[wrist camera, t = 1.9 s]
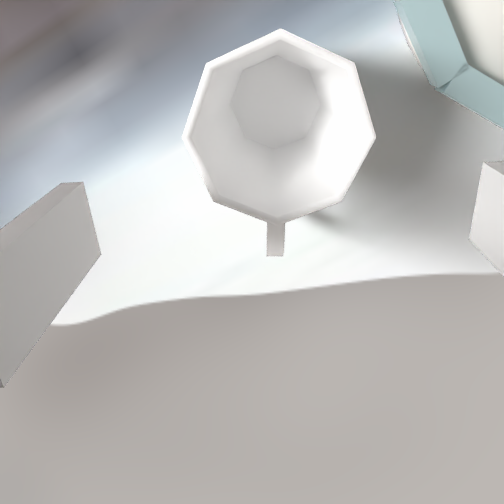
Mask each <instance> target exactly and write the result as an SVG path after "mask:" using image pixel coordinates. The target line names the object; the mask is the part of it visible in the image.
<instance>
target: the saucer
mask: <svg viewBox="0 0 504 504" xmlns="http://www.w3.org/2000/svg"><path fill="white" fill-rule="evenodd" d="M393 3H394V5H395V7H396V9H397V13H398V18H399V22H400V25H401V27H402V30H403V33H404V36H405V38H406V41H407V44H408V46H409V47H410V49H411V51H412V53H413V55H414V57H415V59H416V60H417V62H418V64H419V65H420V67H421V68H422V69H423V71H424V72H425V74H426V77H427V79H428V81H429V83H430V85H432V86H435V87H436V88H435V90H436V91H438V92H440V93H441V94H443V95H445V96H447V97H448V98H450V99H452V100H454V101H455V102H457V103H458V104H460V105H461V106H463V107H465V108H467V109H469V110H471V111H472V112H474V113H476V114H478V115H479V116H481V117H483V118H484V119H486V120H488V121H490V122H491V123H493V124H495V125H496V126H498V127H500V128H502V129H504V0H395V2H393Z"/></svg>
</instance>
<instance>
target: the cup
mask: <svg viewBox="0 0 504 504" xmlns="http://www.w3.org/2000/svg"><path fill="white" fill-rule="evenodd" d="M182 139H183V141H184V143H185V145H186V147H187V149H188V151H189V153H190V155H191V157H192V159H193V161H194V163H195V165H196V167H197V169H198V171H199V173H200V175H201V177H202V179H203V181H204V183H205V185H206V187H207V189H208V191H209V193H210V195H211V197H212V200H213V202H216V203H219V204H221V205H224V206H227V207H229V208H232V209H234V210H237V211H240V212H242V213H245V214H247V215H250V216H253V217H255V218H258V219H260V220H263V221H266V222H267V256H283V253H284V238H285V223H286V222H288V221H291V220H294V219H296V218H299V217H302V216H305V215H307V214H310V213H313V212H315V211H318V210H321V209H324V208H326V207H329V206H332V205H334V204H337V203H340V202H342V200H343V198H344V196H345V194H346V193H347V191H348V189H349V187H350V185H351V183H352V182H353V180H354V178H355V176H356V174H357V172H358V170H359V169H360V167H361V165H362V163H363V161H364V159H365V158H366V156H367V154H368V152H369V150H370V148H371V146H372V145H373V143H374V141H375V139H376V134H375V131H374V127H373V124H372V121H371V117H370V114H369V110H368V107H367V103H366V100H365V96H364V93H363V90H362V86H361V83H360V79H359V76H358V72H357V69H356V65H355V62H352V61H350V60H348V59H346V58H344V57H342V56H339V55H337V54H335V53H333V52H331V51H328V50H326V49H324V48H322V47H320V46H318V45H315V44H313V43H311V42H309V41H307V40H305V39H302V38H300V37H298V36H296V35H294V34H292V33H289V32H287V31H285V30H283V29H279V30H276V31H274V32H272V33H270V34H268V35H266V36H264V37H261V38H259V39H257V40H255V41H253V42H251V43H249V44H247V45H244V46H242V47H240V48H238V49H236V50H234V51H232V52H229V53H227V54H225V55H223V56H221V57H219V58H217V59H215V60H212V61H210V62H208V63H206V65H205V68H204V71H203V74H202V77H201V81H200V84H199V87H198V90H197V93H196V96H195V99H194V102H193V105H192V108H191V111H190V114H189V117H188V120H187V123H186V127H185V130H184V133H183V136H182Z"/></svg>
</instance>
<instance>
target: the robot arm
mask: <svg viewBox="0 0 504 504" xmlns="http://www.w3.org/2000/svg"><path fill="white" fill-rule="evenodd" d="M469 240H470V242H471V243H472V244H473V245H474V246H475V247H476V248H477V249H478V250H479V251H480V252H481V253H482V254H483V255H484V256H485V257H486V259H487V260H488V261H489V262H490V263H491V264H492V265H493V266H494V267H495V268H496V269H497V270H498V271H499V272H500V273H501V274H502V276H503V277H504V161H497V162H483V165H482V170H481V176H480V181H479V187H478V192H477V198H476V203H475V208H474V214H473V219H472V225H471V230H470V236H469ZM100 255H101V252H100V248H99V244H98V240H97V236H96V232H95V228H94V224H93V220H92V216H91V212H90V208H89V203H88V199H87V195H86V191H85V187H84V183H83V182H73V183H61V184H59V185H58V186H57V187H55V188H54V189H53V190H51V191H50V192H49V193H47V194H46V195H45V196H44V197H42V198H41V199H40V200H38V201H37V202H36V203H34V204H33V205H32V206H30V207H29V208H28V209H26V210H25V211H24V212H23V213H21V214H20V215H19V216H17V217H16V218H15V219H13V220H12V221H11V222H9V223H8V224H7V225H5V226H4V227H3V228H2V229H0V388H2V387H5V386H6V384H7V383H8V381H9V380H10V378H11V377H12V376H13V374H14V373H15V372H16V370H17V369H18V368H19V366H20V365H21V363H22V362H23V361H24V359H25V358H26V357H27V355H28V354H29V353H30V351H31V350H32V348H33V347H34V346H35V344H36V343H37V341H38V340H39V339H40V338H41V336H42V335H43V333H44V332H45V331H46V329H47V328H48V326H49V325H50V324H51V322H52V321H53V320H54V318H55V317H56V316H57V314H58V313H59V311H60V310H61V309H62V307H63V306H64V305H65V303H66V302H67V300H68V299H69V298H70V296H71V295H72V294H73V292H74V291H75V289H76V288H77V287H78V285H79V284H80V283H81V281H82V280H83V278H84V277H85V276H86V274H87V273H88V272H89V270H90V269H91V267H92V266H93V265H94V263H95V262H96V261H97V259H98V258H99V257H100Z"/></svg>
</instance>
